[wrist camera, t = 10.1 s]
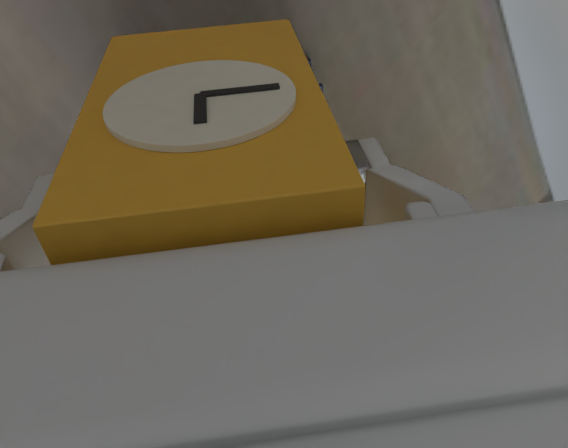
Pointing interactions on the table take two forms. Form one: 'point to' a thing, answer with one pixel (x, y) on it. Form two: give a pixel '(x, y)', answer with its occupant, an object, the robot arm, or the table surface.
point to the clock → (199, 148)
